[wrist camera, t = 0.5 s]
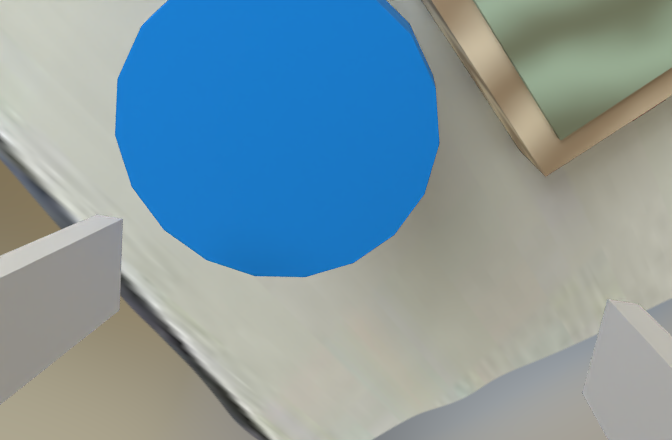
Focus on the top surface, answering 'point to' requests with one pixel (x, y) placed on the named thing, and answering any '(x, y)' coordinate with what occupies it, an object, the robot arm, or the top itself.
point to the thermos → (278, 129)
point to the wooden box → (562, 66)
